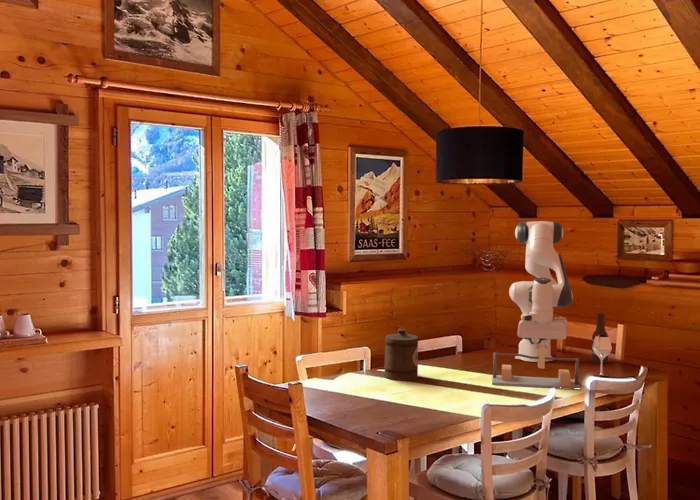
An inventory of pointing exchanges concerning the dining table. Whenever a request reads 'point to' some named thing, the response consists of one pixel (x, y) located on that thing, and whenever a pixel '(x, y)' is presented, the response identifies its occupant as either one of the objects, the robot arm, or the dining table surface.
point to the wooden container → (401, 356)
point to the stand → (535, 378)
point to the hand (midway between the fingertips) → (541, 348)
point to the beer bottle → (599, 331)
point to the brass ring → (541, 356)
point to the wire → (536, 357)
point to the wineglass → (602, 348)
